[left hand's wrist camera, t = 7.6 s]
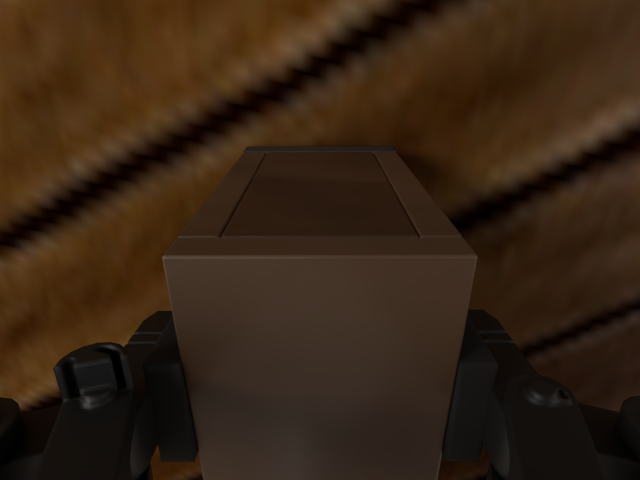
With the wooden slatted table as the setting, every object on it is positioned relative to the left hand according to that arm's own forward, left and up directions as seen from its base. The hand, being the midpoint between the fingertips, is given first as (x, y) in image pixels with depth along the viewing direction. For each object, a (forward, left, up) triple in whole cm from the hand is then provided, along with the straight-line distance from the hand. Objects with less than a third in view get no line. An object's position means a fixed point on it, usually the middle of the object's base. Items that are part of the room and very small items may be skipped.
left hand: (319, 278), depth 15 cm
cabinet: (+3, +6, -3) cm, 7 cm away
